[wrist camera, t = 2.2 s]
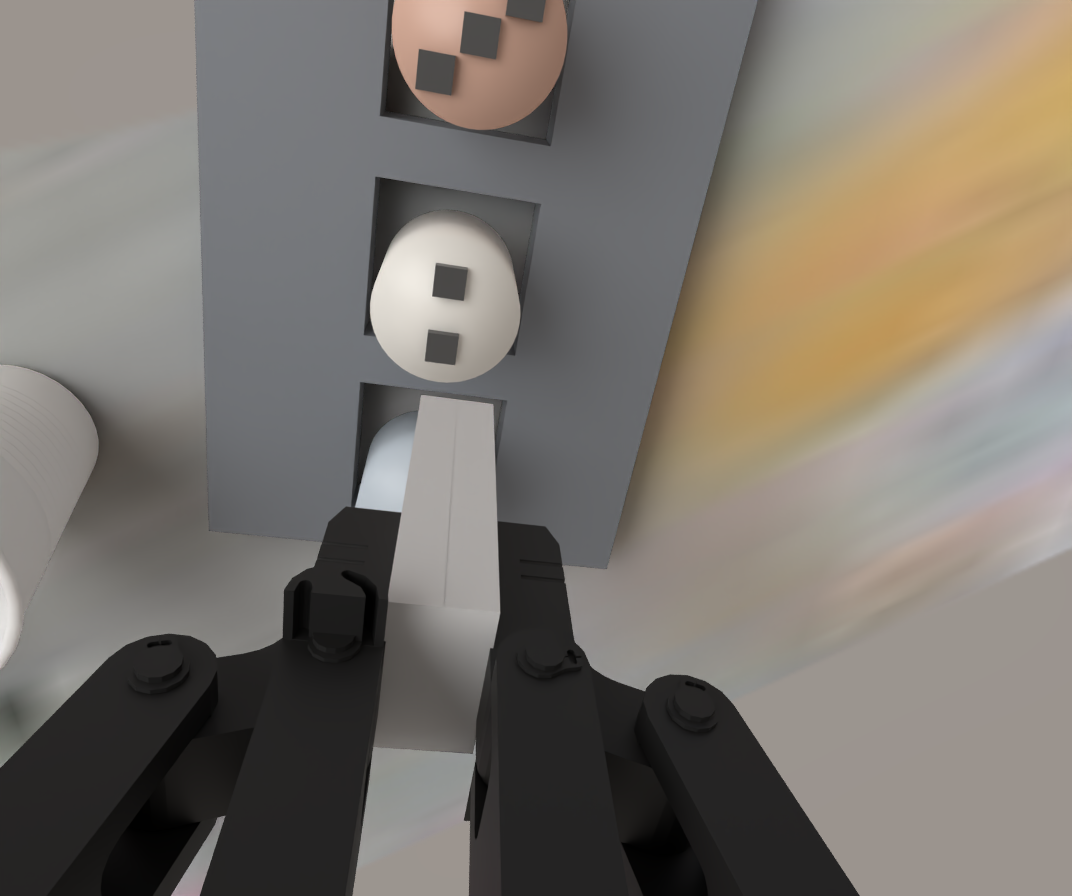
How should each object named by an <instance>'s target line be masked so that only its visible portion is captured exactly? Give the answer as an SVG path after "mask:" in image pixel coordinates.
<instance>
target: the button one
mask: <svg viewBox="0 0 1072 896" xmlns="http://www.w3.org/2000/svg"><path fill="white" fill-rule="evenodd" d="M417 417H418V411H413V412H408V413H405V414H402V415H400V416H397V417H395V418H393V419H392V420H390V421H389V422H387V423H386V424H385V425H384V426H383V427H382V428H381V429H380V430H379V431H378V432H377V434H376V435H375V436H374V438H373V440H372V442H371V445H370V448H369V452H368V456H367V461H366V465H365V469H364V473H363V477H362V481H361V485H360V489H359V493H358V498H357V502H356V506H355V507H356V508H365V509H374V510H383V511H392V512H401V513H402V507H403V501H404V495H405V489H406V483H407V477H408V471H409V465H410V459H411V453H412V447H413V441H414V435H415V429H416V423H417Z"/></svg>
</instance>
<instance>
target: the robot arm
mask: <svg viewBox="0 0 1072 896" xmlns="http://www.w3.org/2000/svg"><path fill="white" fill-rule="evenodd" d="M564 581H565V578H564V571H563V567H562V558H561V552H560V545H559V543H558V542H557V541H556V539H555V538H554V537H553V535H552V534H551V533H550V532H549V530H548V529H547V528H546V526H538V525H528V524H519V523H510V522H501V521H497V500H496V470H495V441H494V411H493V404H488V403H481V402H473V401H466V400H458V399H450V398H443V397H435V396H427V395H421V399H420V405H419V411H418V417H417V423H416V429H415V435H414V441H413V447H412V453H411V459H410V465H409V471H408V477H407V483H406V489H405V495H404V501H403V507H402V513H401V512H392V511H383V510H374V509H365V508H356V507H347V506H346V507H345V508H344V509H342V510H341V511H340V512H339V513H338V514H337V515H336V516H334V517H333V518H332V519H331V520H330V521H329V522H328V525H327V528H326V531H325V535H324V538H323V541H322V545H321V547H320V550H319V554H318V558H317V561H316V563H315V566H314V567H313V568H309V569H306V570H305V571H303V572H301V573H300V574H298V575H297V576H295V577H293V578H292V579H291V581H290V582H289V584H288V585H287V587H286V588H285V589H284V613H283V638H282V639H280V640H279V641H277V642H276V643H274V644H272V645H270V646H268V647H265V648H263V649H260V650H257V651H253V652H249V653H244V654H239V655H232V656H226V657H219V658H216V655H215V654H214V652H213V651H212V650H211V649H210V647H209V646H208V645H207V644H206V643H204V642H202V641H200V640H197V639H195V638H193V637H191V636H185V635H176V634H164V635H157V636H150V637H146V638H143V639H140V640H138V641H135V642H133V643H130V644H128V645H126V646H124V647H123V648H121V649H120V650H119V651H117V652H116V653H115V654H113V655H112V656H111V657H109V658H108V659H107V660H106V661H105V662H104V663H103V664H102V665H101V666H100V667H99V668H98V669H97V670H96V671H95V672H94V673H93V674H92V675H91V676H90V678H89V679H88V680H87V681H86V682H85V683H84V684H83V685H82V686H81V687H80V688H79V689H78V690H77V691H76V692H75V693H74V694H73V695H72V696H71V697H70V698H69V699H68V700H67V701H66V702H65V703H64V704H63V705H62V706H61V707H60V708H59V709H58V710H57V711H56V712H55V713H54V714H53V715H52V716H51V717H50V718H49V719H48V720H47V721H46V722H45V723H44V724H43V725H42V726H41V727H40V728H39V729H38V730H37V731H36V732H35V733H34V734H33V735H32V736H31V737H30V738H29V739H28V741H27V742H26V743H25V744H24V745H23V746H22V747H21V748H20V749H19V750H18V751H17V752H16V753H15V754H14V755H13V756H12V757H11V758H10V759H9V760H8V761H7V762H6V763H5V764H4V765H3V766H2V767H1V768H0V896H171V894H172V893H173V891H174V889H175V888H176V886H177V885H178V883H179V881H180V880H181V878H182V877H183V875H184V873H185V872H186V870H187V869H188V867H189V865H190V864H191V862H192V861H193V859H194V857H195V856H196V854H197V853H198V851H199V849H200V848H201V846H202V845H203V843H204V841H205V840H206V838H207V837H208V835H209V833H210V832H211V830H212V829H213V827H214V825H215V823H216V820H217V817H221V816H225V815H226V816H225V819H224V822H223V825H222V829H221V832H220V835H219V838H218V841H217V844H216V847H215V850H214V853H213V856H212V860H211V863H210V866H209V869H208V872H207V875H206V878H205V881H204V884H203V887H202V890H201V894H200V896H352V894H353V887H354V881H355V874H356V867H357V860H358V853H359V846H360V840H361V833H362V826H363V819H364V812H365V805H366V799H367V792H368V785H369V778H370V768H371V759H372V751H373V747H382V748H396V749H411V750H426V751H440V752H455V753H470V754H473V750H474V745H475V740H476V762H475V767H474V772H473V777H472V782H471V787H470V792H469V797H468V802H467V807H466V812H465V818H464V821H470V866H469V896H859V894H858V893H857V891H856V890H855V888H854V887H853V885H852V883H851V882H850V880H849V879H848V877H847V876H846V874H845V873H844V871H843V870H842V868H841V867H840V865H839V864H838V862H837V861H836V859H835V858H834V856H833V855H832V853H831V852H830V850H829V849H828V847H827V846H826V844H825V842H824V841H823V839H822V838H821V836H820V835H819V834H818V832H817V830H816V829H815V828H814V826H813V824H812V823H811V821H810V820H809V818H808V817H807V815H806V814H805V812H804V811H803V809H802V808H801V807H800V805H799V803H798V802H797V800H796V799H795V797H794V796H793V794H792V792H791V791H790V790H789V788H788V787H787V785H786V783H785V782H784V780H783V779H782V778H781V776H780V774H779V773H778V771H777V770H776V768H775V767H774V766H773V764H772V762H771V761H770V759H769V758H768V756H767V755H766V753H765V752H764V750H763V749H762V747H761V746H760V744H759V743H758V741H757V739H756V738H755V736H754V735H753V733H752V732H751V731H750V729H749V728H748V726H747V725H746V723H745V721H744V720H743V718H742V717H741V715H740V714H739V712H738V711H737V709H736V708H735V706H734V705H733V704H732V703H731V701H730V700H729V699H728V698H727V697H726V696H725V695H724V694H723V693H722V692H721V691H720V690H718V689H717V688H715V687H713V686H712V685H710V684H709V683H707V682H706V681H703V680H700V679H697V678H694V677H691V676H688V675H671V674H670V675H667V676H664V677H660V678H657V679H655V680H654V681H653V682H652V683H651V684H650V685H649V686H648V687H647V688H646V691H642V690H639V689H636V688H633V687H630V686H627V685H624V684H621V683H618V682H616V681H614V680H611V679H609V678H607V677H605V676H603V675H602V674H600V673H599V672H597V671H596V670H594V669H593V668H592V667H591V666H590V664H589V662H588V659H587V657H586V655H585V652H584V651H583V650H582V649H581V648H580V647H579V646H578V645H577V644H576V643H575V641H574V636H573V630H572V623H571V617H570V610H569V604H568V597H567V591H566V584H565V583H564Z"/></svg>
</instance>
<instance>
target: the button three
mask: <svg viewBox="0 0 1072 896" xmlns="http://www.w3.org/2000/svg"><path fill="white" fill-rule="evenodd" d="M392 39H393V47H394V51H395V56H396V59H397V62H398V65H399V68H400V71H401V73H402V75H403V77H404V79H405V81H406V83H407V84H408V86H409V87H410V89H411V91H412V92H413V93H414V95H415V96H416V97H417V98H418V99H419V101H420V102H421V103H422V104H423V105H424V106H425V107H426V108H428V109H429V110H430V111H431V112H433V113H434V114H435V115H437V116H438V117H440V118H442V119H443V120H445V121H447V122H449V123H452V124H454V125H457V126H460V127H464V128H468V129H476V130H491V129H497V128H502V127H505V126H508V125H511V124H513V123H515V122H517V121H519V120H521V119H523V118H524V117H526V116H527V115H529V114H530V113H532V112H533V111H534V110H535V109H536V108H537V107H538V106H539V105H540V104H541V103H542V102H543V101H544V100H545V99H546V97H547V96H548V95H549V93H550V92H551V90H552V89H553V87H554V85H555V83H556V81H557V79H558V77H559V75H560V72H561V69H562V66H563V63H564V58H565V54H566V47H567V21H566V13H565V9H564V5H563V1H562V0H395V3H394V7H393V14H392Z"/></svg>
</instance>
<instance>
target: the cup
mask: <svg viewBox="0 0 1072 896" xmlns="http://www.w3.org/2000/svg"><path fill="white" fill-rule="evenodd" d="M98 451H99V440H98V435H97V430H96V427H95V425H94V422H93V420H92V418H91V416H90V414H89V413H88V411H87V410H86V408H85V407H84V405H83V404H82V403H81V402H80V401H79V400H78V399H77V398H76V397H75V396H74V395H73V394H72V393H71V392H70V391H69V390H68V389H66V388H65V387H64V386H62V385H61V384H60V383H58V382H57V381H55V380H53V379H51V378H49V377H47V376H46V375H44V374H41V373H39V372H36V371H33V370H30V369H28V368H23V367H18V366H13V365H0V670H1V669H2V668H3V667H4V666H5V665H6V664H7V662H8V661H9V659H10V657H11V656H12V654H13V653H14V651H15V649H16V648H17V646H18V643H19V639H20V636H21V632H22V628H23V624H24V620H23V617H24V614H25V612H26V610H27V608H28V606H29V604H30V602H31V600H32V597H33V595H34V593H35V591H36V589H37V587H38V585H39V583H40V580H41V578H42V576H43V574H44V572H45V570H46V567H47V564H48V562H49V561H50V558H51V555H52V554H53V552H54V550H55V547H56V545H57V544H58V541H59V539H60V537H61V535H62V533H63V530H64V529H65V527H66V524H67V522H68V520H69V519H70V515H71V514H72V512H73V509H74V507H75V506H76V504H77V501H78V499H79V497H80V494H81V493H82V491H83V489H84V487H85V485H86V483H87V481H88V479H89V477H90V475H91V472H92V470H93V468H94V466H95V464H96V460H97V457H98Z"/></svg>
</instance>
